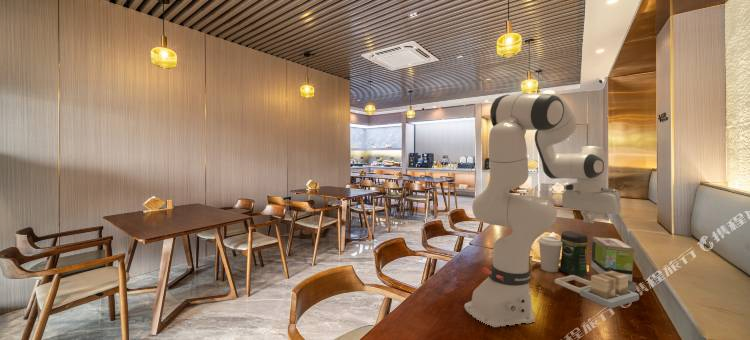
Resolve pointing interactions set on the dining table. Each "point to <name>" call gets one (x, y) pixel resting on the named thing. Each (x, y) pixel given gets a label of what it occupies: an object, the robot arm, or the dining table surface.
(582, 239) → the coffee jar
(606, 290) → the seated block
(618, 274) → the block
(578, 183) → the robot arm
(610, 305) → the grey hollow frame
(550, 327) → the dining table surface
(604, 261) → the tea box
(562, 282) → the tray
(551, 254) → the coffee cup
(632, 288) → the dark grey square housing
